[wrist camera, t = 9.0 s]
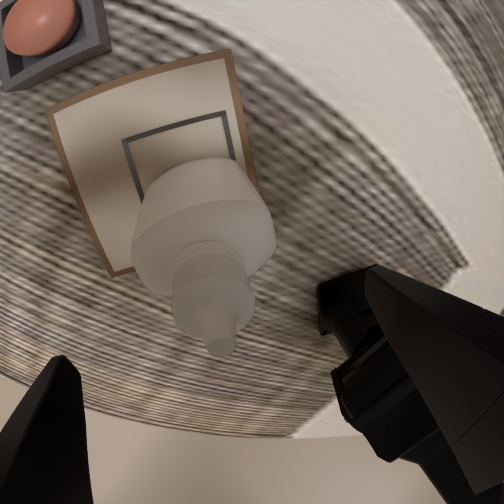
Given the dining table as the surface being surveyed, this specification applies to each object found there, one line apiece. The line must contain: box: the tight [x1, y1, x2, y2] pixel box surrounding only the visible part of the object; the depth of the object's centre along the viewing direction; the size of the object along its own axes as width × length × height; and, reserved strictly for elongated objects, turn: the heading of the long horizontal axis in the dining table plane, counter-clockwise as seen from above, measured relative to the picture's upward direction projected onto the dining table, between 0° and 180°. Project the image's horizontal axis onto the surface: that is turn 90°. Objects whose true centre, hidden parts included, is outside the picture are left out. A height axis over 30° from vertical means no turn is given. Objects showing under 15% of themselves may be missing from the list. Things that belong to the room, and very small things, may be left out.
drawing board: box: [46, 49, 259, 278], centre depth 17 cm, size 12×11×2 cm
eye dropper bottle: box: [131, 158, 277, 357], centre depth 12 cm, size 4×6×12 cm
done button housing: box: [0, 0, 112, 93], centre depth 10 cm, size 6×6×3 cm
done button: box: [3, 0, 80, 57], centre depth 9 cm, size 4×4×2 cm
